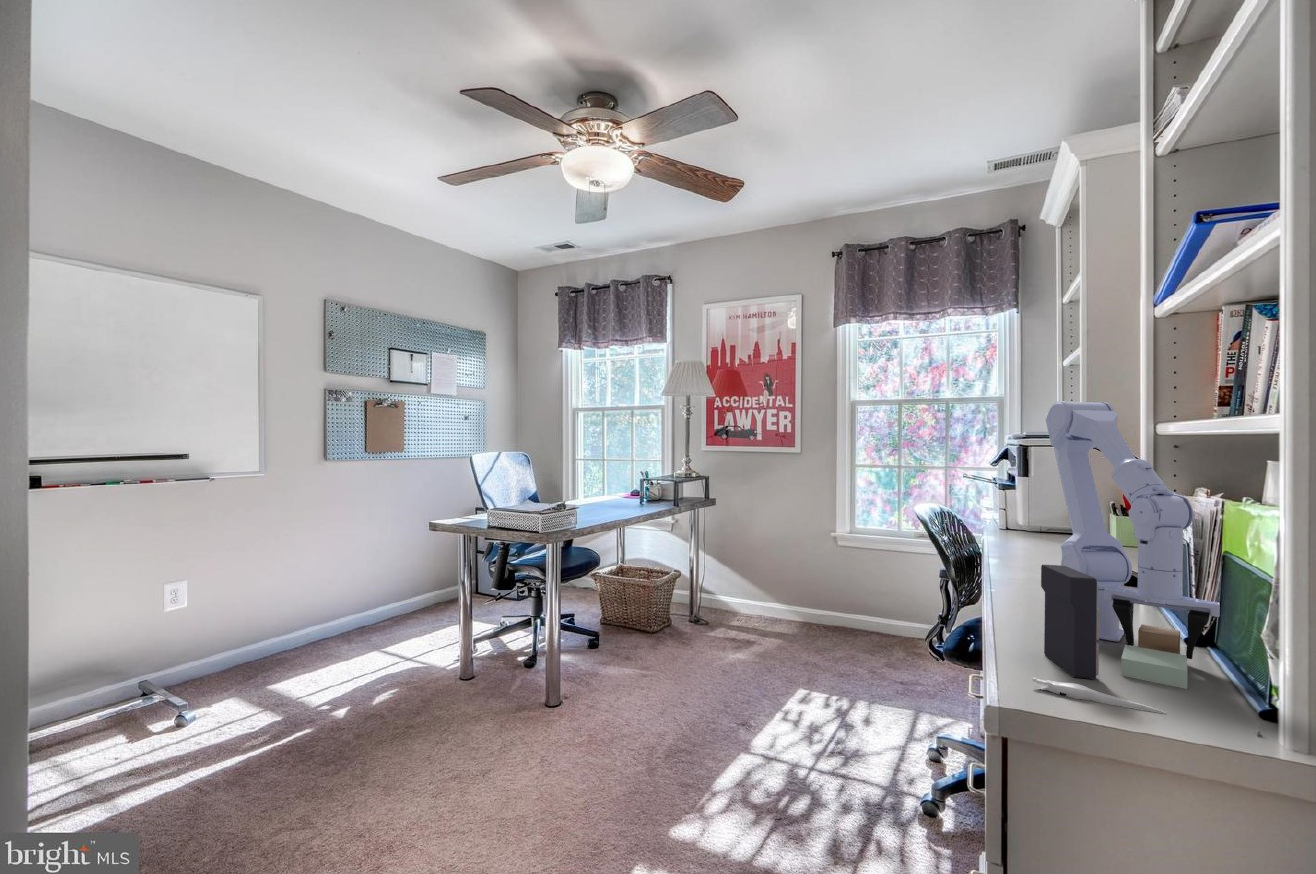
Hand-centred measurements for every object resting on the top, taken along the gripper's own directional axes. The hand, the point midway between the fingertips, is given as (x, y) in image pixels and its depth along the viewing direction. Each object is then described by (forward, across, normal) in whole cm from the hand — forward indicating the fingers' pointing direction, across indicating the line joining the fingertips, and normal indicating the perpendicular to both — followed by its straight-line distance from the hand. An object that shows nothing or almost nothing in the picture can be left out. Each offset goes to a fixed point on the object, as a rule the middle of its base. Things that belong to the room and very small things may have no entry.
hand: (1159, 651), depth 101 cm
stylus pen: (+2, -5, -28) cm, 28 cm away
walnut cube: (+2, 0, 0) cm, 2 cm away
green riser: (+2, 0, -8) cm, 9 cm away
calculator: (+2, -10, -15) cm, 18 cm away
